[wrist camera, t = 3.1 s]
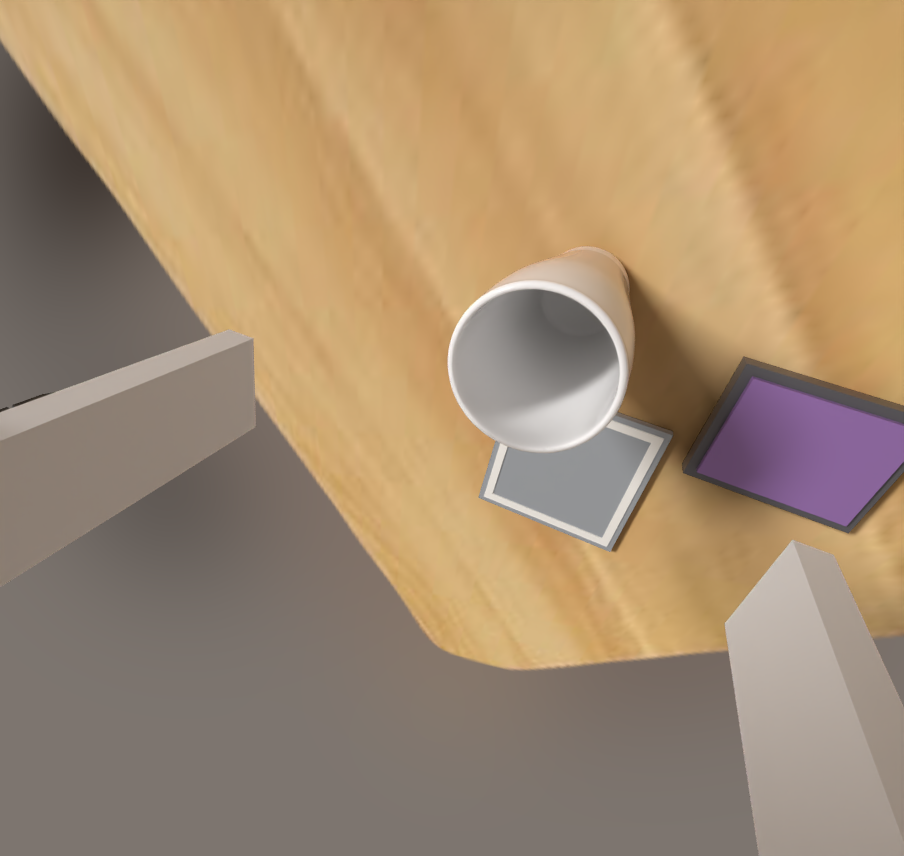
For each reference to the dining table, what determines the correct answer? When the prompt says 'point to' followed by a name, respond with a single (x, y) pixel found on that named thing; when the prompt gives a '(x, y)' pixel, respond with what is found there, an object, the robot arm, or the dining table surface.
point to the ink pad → (800, 444)
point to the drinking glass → (547, 352)
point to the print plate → (579, 480)
